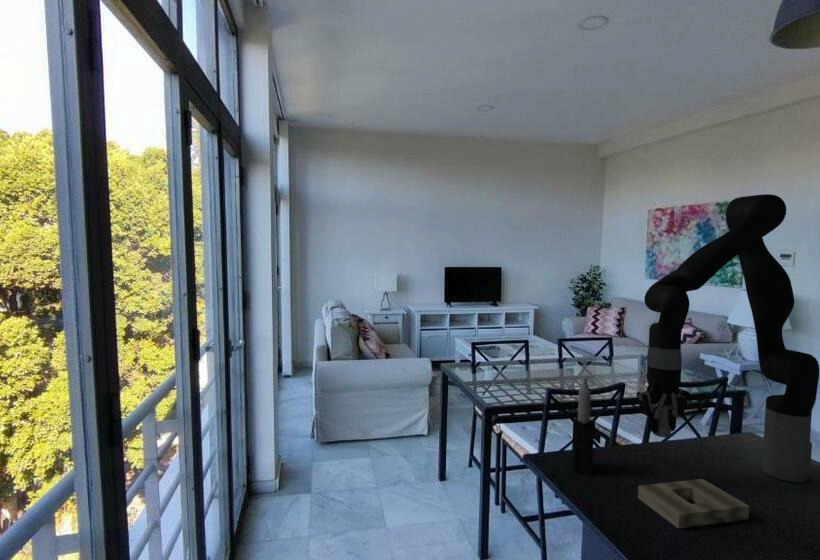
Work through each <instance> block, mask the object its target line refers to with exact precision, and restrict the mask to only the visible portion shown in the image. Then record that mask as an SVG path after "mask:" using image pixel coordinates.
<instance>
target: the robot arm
mask: <svg viewBox="0 0 820 560" xmlns="http://www.w3.org/2000/svg"><path fill="white" fill-rule="evenodd" d="M786 215H787V205H786V202H785V201H784V200H783V199H782V197H780V196H778V195H775V194H768V193H767V194H756V195H755V194H754V195H753V194H752V195H747V196H739V197H736V198H734V199H732V200H731V201H730V202H729V203H728V204H727V207H726V210H725V221H726V226H727V229H728V231H727V232H725V233H724V234H722V235H721V236H719V237H717V238H716V239H713V240H712V241H710V242H708V243H706V244H704V245H703V246H701V247H699V248H698V249H697V250H695V251H694V252H693V253H692V254H690V255H689V256H688V257H687V258H686V259H685V260H684V261H683V262H682V263H681V264H680V265H679V266H678V267H677V268H676V269H675V270H673V271H671V272H670V273H667V274H666V275H665V276H663V277H661V278H660V279H659V280H657V281H656V282H654V283H653V284H651V286H649V288H648V289H647V291H646V292H645V294H644V303H645V306H646V307H647V309H648V310H650V311H653V312H655V313H660V314H659V318H658V322H654V323H652V324H651V325H650V326H649V330H648V349H647V355H646V381H647V388H646V390H645V391H642V392H640V391H637V392H636V398H637V402H638V407H639V411H640V413H641V414H642V415H644V416H646V417H647V419H648V420H647V428H648V431H650V432H652V434H653V433H658V419H657V418H658V415H659V411H661V410H662V407H663V405H668V406H669V407H670V409H669V410H668V413H669V415H668V423H669V425H670V428H671V430H672V431H671V432H675V431H676V427H677V417H678V416H679V415H683V414H684V413H685V410H686V407H687V403H688V400H689V396H690V392H689V391H688V390H685V389H683V388H680V387H679V386H680V385H681V384H682V363H683V362H682V361H683V359H682V358H683V357H682V331H683V329H684V326H685V323H686V320H687V316H688V313H689V309H690V298H689V295H688V292H691V291H697V290H700V289H701V288H702V287H703V286H704V285H706V283H708V281H709V280H711V279H712V278H713V277H714V276H715V275H716V274H717V273H718V272H719V271H720V270H721V269H723V268H724V267H725V266H726V265H727V264H728V263H729V262H730V261H732V260H733V259H735V258H736V257H737V256H738V262H739V265H740V268H741V273H742V275H743V279H744V285H745V290H746V295H747V298H748V304H749V306H750V310H751V314H752V319H753V320H752V321H753V325H754V329H755V336H756V345H757V355H758V364H759V369H760V370H761V373H762V375H763V376H764V377H765V378H766V379H768V380H769V381H771V382H775V383H778V384H782V385H786V387H785V390H784V393H783V394H772V395H771V394H770V395H769V396H767V397H766V399H765V411H764V413H765V414H764V426H763V427H764V429H763V444H762V445H763V446H762V462H761V464H762V465H761V469H762V471H763V472H764V473H766V474H767V475H769V476H771V477H773V478H776V479H779V480H782V481H786V482H789V483H798V484H799V483H805V482H807V481H808V479H811V466H812V454H813V453H812V450H813V443H812V441H811V431H812V429H811V428H812V417H813V416H812V414H813V409H814V407H815V404H816V401H817V394H818V386H819V380H820V365H819V362H818V360H817V358H816V357H815V356H814V355H812V354H810V353H807V352H802V351H797V350H792V349H787V348H786V346H785V343H784V338H783V328H784V326H785V325H786V324H785V323H786V322H787V320H788V318H789V317H790V315H791V313H792V311H793V309H794V306H795V294H794V291H793V286H792V281H791V278H790V277H789V274H788V272H787V271H786V269H784V267H783V266H782V264H780V262H779V261H778V260H777V259H776V258H775V257H774V255H773V254H772V253H771V252H770V251H769V249H768V248H767V247H766V246H767V245H766V244H765V242H764V237H765V236H767V235H768V234H770V233H771V232H772V231H774V230H775V229H777V228H778V227H779V226H780V225H781V224H782V223H783V222H784V220H785V217H786ZM656 405H657V406H656Z"/></svg>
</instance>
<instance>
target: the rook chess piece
mask: <svg viewBox="0 0 820 560" xmlns="http://www.w3.org/2000/svg"><path fill="white" fill-rule="evenodd" d="M655 405H656V406H657V404H655ZM669 409H670V407H669V406H668V405H663V407H662V410H661V411H659V415H658V418H657V419H658V433H653V432H652V434H653V435H654V436H656V437H660V438H670V437H671V436H672V435H673V434H672V432H673V431H672V430H671V428H670V425H669V423H668V415H669V413H668V410H669Z"/></svg>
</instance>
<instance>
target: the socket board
mask: <svg viewBox="0 0 820 560" xmlns="http://www.w3.org/2000/svg"><path fill="white" fill-rule="evenodd" d="M637 487H638V489H637V499H638V500H640V501H641V502H643V504H645V505H647V506H648V507H649V508H650V509H652V510H653V511H654V512H656V513H657V514H659V515H660V516H661V517H662V518H664V519H665V520H666V521H668V522H669V523H670V524H672V525H673V526H674V528H677V529H686V528H694V527H703V526H708V525H717V524H723V523H729V522H730V523H731V522H739V521H740V522H741V521H747V520H749V516H750V506H749V505H748V504H746V503H745V502H743V501H741V500H739V499H738V498H737V497H734V496H733V495H731V494H729V493H727V492H725V491H724V490H722V489H721V488H720V487H719V488H718V487H717V486H715V485H714V484H712V483H710V482H709V481H707V480H705V479H703V478H698V479H688V480H680V481H670V482H659V483H650V484H642V485H638V486H637ZM689 501H692V502H694V503H690V502H689Z"/></svg>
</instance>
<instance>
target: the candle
mask: <svg viewBox="0 0 820 560" xmlns="http://www.w3.org/2000/svg"><path fill="white" fill-rule="evenodd" d="M591 393H592V391H591V389H590V387H589V385H588V378H587V377H584V378H583V382H582V385H581V386H580V388H579V389H578V407H577V408H578V409H577V412H578V413H577V417H576V418H574V419H573V422H572V438H571V439H572V441H571V444H572V445H571V467H570V468H571V471H572V472H573V473H575V474H576V473H578V474H581V473H582V475H585V476H591V475H593V468H594V467H593V466H594V465H593V464H594V463H593V462H594V436H595V435H594V434H595V422H594V421H593V420H592V419H591V398H592V396H591V395H592V394H591Z"/></svg>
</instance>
